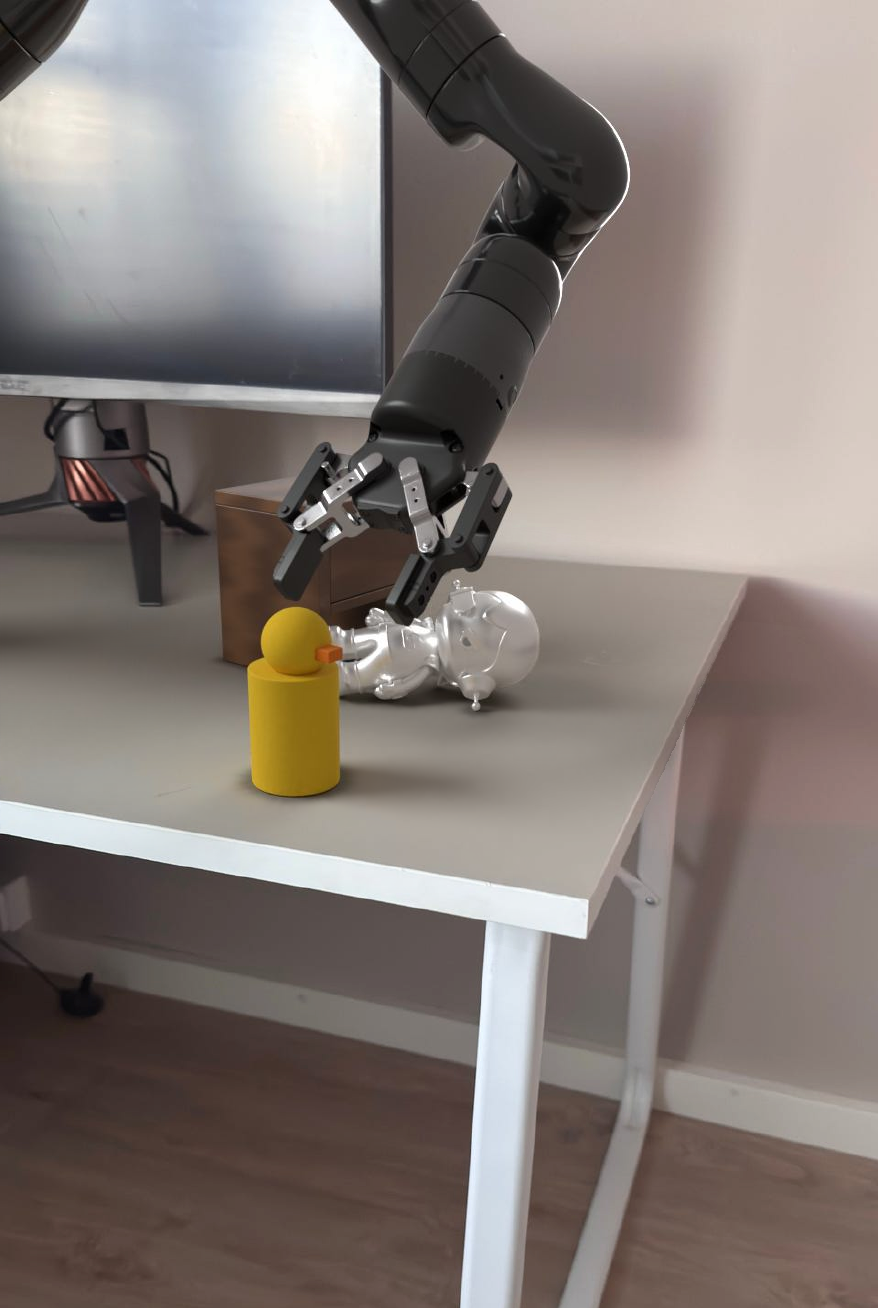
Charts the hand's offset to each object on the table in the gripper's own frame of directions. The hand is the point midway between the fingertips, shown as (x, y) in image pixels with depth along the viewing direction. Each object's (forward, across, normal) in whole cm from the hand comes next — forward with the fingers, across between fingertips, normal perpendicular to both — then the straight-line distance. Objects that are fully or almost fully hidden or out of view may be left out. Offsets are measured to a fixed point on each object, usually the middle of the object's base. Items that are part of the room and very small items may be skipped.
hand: (338, 605), depth 69 cm
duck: (+10, 0, +4) cm, 11 cm away
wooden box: (-4, -15, +18) cm, 24 cm away
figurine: (-3, -3, +17) cm, 17 cm away
